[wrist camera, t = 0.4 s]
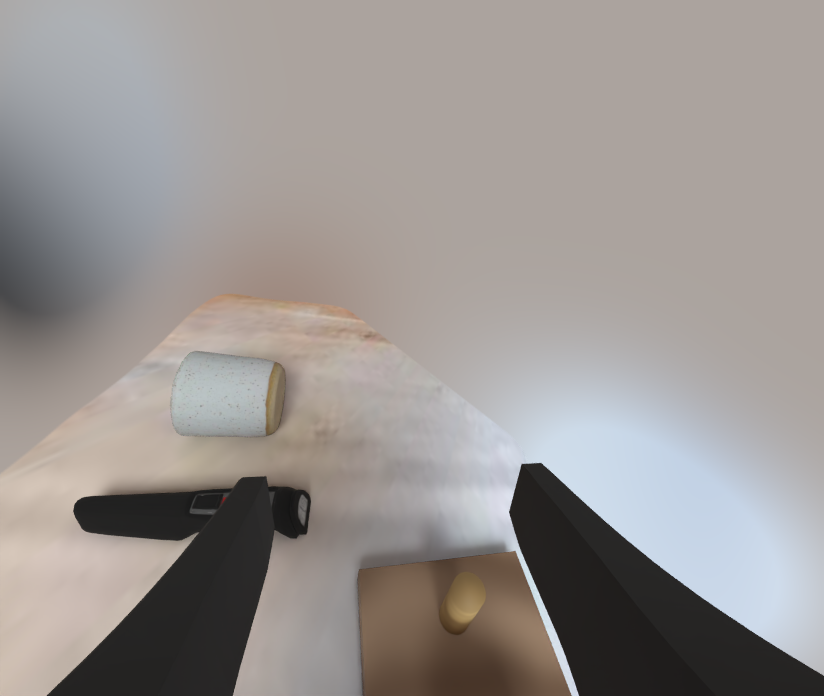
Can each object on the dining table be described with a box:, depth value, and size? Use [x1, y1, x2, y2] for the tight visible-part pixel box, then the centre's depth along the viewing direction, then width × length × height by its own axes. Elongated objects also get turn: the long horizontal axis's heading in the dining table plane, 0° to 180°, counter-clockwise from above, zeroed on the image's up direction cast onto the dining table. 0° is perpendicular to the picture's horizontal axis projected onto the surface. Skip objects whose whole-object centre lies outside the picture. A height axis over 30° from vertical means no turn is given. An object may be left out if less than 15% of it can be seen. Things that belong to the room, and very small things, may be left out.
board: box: [358, 551, 571, 696], centre depth 20 cm, size 15×12×6 cm
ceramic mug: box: [170, 351, 285, 437], centre depth 34 cm, size 11×8×8 cm
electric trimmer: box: [73, 487, 311, 541], centre depth 27 cm, size 4×16×3 cm, turn 96°
